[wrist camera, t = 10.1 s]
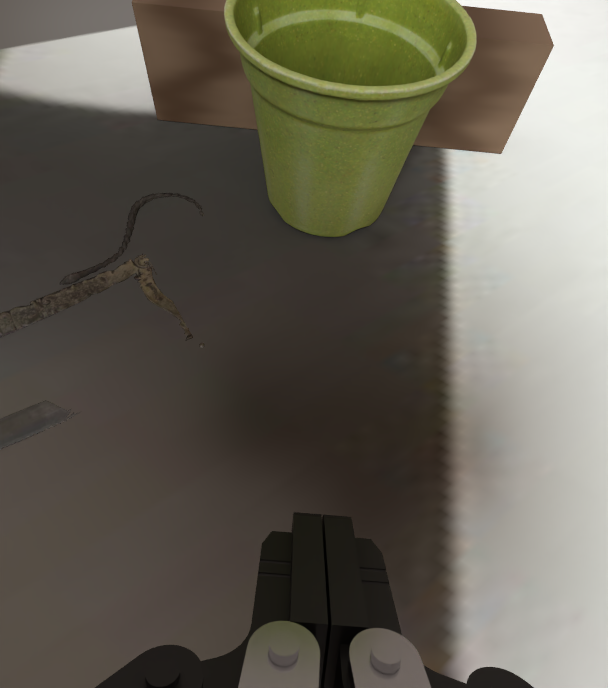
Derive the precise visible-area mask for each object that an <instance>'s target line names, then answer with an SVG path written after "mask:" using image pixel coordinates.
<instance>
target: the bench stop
mask: <svg viewBox="0 0 608 688" xmlns="http://www.w3.org/2000/svg"><path fill="white" fill-rule="evenodd" d="M225 3H226V0H133V1H132V6H133V10H134V15H135V19H136V24H137V28H138V33H139V37H140V42H141V46H142V51H143V56H144V60H145V65H146V69H147V74H148V78H149V83H150V87H151V92H152V96H153V101H154V105H155V110H156V114H157V119H158V120H165V121H175V122H185V123H196V124H206V125H216V126H226V127H236V128H246V129H256V130H258V128H257V122H256V116H255V110H254V103H253V97H252V92H251V86H250V82H249V81H248V79H247V77H246V75H245V72H244V69H243V66H242V62H241V57H240V52H239V51H238V50H237V48H236V47H235V45H234V44H233V42H232V40H231V39H230V37H229V34H228V32H227V29H226V24H225V17H224V7H225ZM462 7H463V9H464V10H465V11H466V12H467V14H468V15H469V17H471V19H472V22H473V24H474V27H475V30H476V48H475V52H474V54H473V57H472V59H471V61H470V63H469V65H468V66H467V67H466V69H465V70H464V71H463V72H462V73H461V74H460V75H459V76H458V77H457V78H456V79H455V80H453V81H452V82H450V83H449V84H448V86H447V88H446V90H445V91H444V93H443V95H442V96H441V98H440V99H439V101H438V102H437V103H436V104H435V105H434V106H433V107H432V108H431V109H430V111H429V113H428V115H427V117H426V119H425V121H424V123H423V125H422V127H421V129H420V131H419V133H418V135H417V137H416V139H415V142H414V144H413V145H418V146H428V147H438V148H449V149H459V150H469V151H479V152H489V153H499V154H501V153H502V151H503V149H504V147H505V145H506V143H507V141H508V139H509V137H510V135H511V133H512V130H513V128H514V126H515V124H516V122H517V120H518V118H519V116H520V114H521V112H522V110H523V108H524V106H525V104H526V102H527V100H528V98H529V96H530V94H531V91H532V89H533V87H534V85H535V83H536V81H537V79H538V77H539V75H540V73H541V71H542V69H543V67H544V65H545V63H546V61H547V59H548V57H549V55H550V52H551V50H552V48H553V46H554V45H553V42H552V39H551V37H550V34H549V31H548V29H547V26H546V24H545V21H544V18H543V16H542V14H535V13H525V12H516V11H506V10H497V9H487V8H477V7H468V6H462Z"/></svg>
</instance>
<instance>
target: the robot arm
mask: <svg viewBox="0 0 608 688" xmlns="http://www.w3.org/2000/svg"><path fill="white" fill-rule="evenodd" d="M95 688H533V687H532V686H531V685H530V684H528V683H527V682H526V681H524V680H523V679H522V678H520V677H519V676H517V675H515V674H513V673H511V672H509V671H507V670H504V669H501V668H495V667H484V668H480V669H477V670H475V671H474V672H472V674H471V675H470V676H469V678H468V680H467V684H465V683H463V682H460V681H457V680H455V679H452V678H449V677H446V676H444V675H441V674H439V673H436V672H434V671H432V670H431V669H429V668H427V667H426V666H424V665H423V663H422V660H421V657H420V655H419V653H418V651H417V650H416V648H415V647H414V646H413V645H412V643H411V642H410V641H408V640H407V639H406V638H405V637H403V636H402V634H401V630H400V626H399V622H398V618H397V614H396V609H395V605H394V601H393V597H392V593H391V589H390V586H389V580H388V576H387V572H386V568H385V564H384V560H383V555H382V553H381V551H380V550H379V549H378V548H377V546H376V545H375V544H374V543H373V541H372V540H371V539H363V538H355V537H354V531H353V525H352V519H351V517H344V516H332V515H323V517H321V514H308V513H296V512H294V514H293V523H292V533H289V532H277V531H272V532H271V533H270V534H269V536H268V537H267V538H266V539H265V541H264V542H263V543H262V548H261V556H260V563H259V571H258V579H257V586H256V594H255V602H254V609H253V617H252V624H251V629H250V632H249V634H248V636H247V637H246V639H245V640H244V641H243V643H242V644H241V645H240V646H238V647H237V648H236V649H235V650H233V651H231V652H230V653H228V654H226V655H223V656H220V657H217V658H213V659H208V660H204V661H200V660H199V658H198V657H197V656H196V655H195V653H193V652H192V651H191V650H189V649H187V648H185V647H182V646H178V645H163V646H158V647H155V648H152V649H150V650H147V651H145V652H144V653H142V654H141V655H139V656H138V657H136V658H135V659H134V660H132V661H131V662H129V663H128V664H127V665H125V666H124V667H123V668H121V669H120V670H118V671H117V672H116V673H114V674H113V675H112V676H110V677H109V678H108V679H106V680H105V681H103V682H102V683H101V684H99V685H98V686H97V687H95Z"/></svg>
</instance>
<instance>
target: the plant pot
mask: <svg viewBox="0 0 608 688" xmlns="http://www.w3.org/2000/svg"><path fill="white" fill-rule="evenodd" d="M224 17H225V24H226V29H227V32H228V34H229V37H230V39H231V40H232V42H233V44H234V45H235V47H236V48H237V50H238V51H239V52H240V57H241V62H242V66H243V69H244V72H245V75H246V77H247V79H248V81H249V82H250V86H251V92H252V97H253V103H254V110H255V116H256V122H257V128H258V134H259V140H260V146H261V153H262V159H263V165H264V172H265V179H266V185H267V191H268V197H269V201H270V202H271V203H272V205H273V206H274V208H275V209H276V210H277V211H278V213H279V214H280V216H281V217H282V219H283V220H284V221H285V222H286V223H288V224H289V225H291V226H292V227H294V228H296V229H298V230H300V231H303V232H306V233H309V234H313V235H318V236H325V237H338V236H344V235H347V234H349V233H351V232H353V231H355V230H357V229H360V228H363V227H366V226H370V225H371V224H372V223H373V222H375V221H376V219H377V218H378V217H379V215H380V214H381V212H382V210H383V208H384V206H385V203H386V201H387V199H388V197H389V195H390V193H391V191H392V189H393V186H394V184H395V182H396V180H397V177H398V175H399V173H400V171H401V169H402V167H403V164H404V162H405V160H406V158H407V156H408V154H409V152H410V150H411V148H412V146H413V144H414V142H415V139H416V137H417V135H418V133H419V131H420V129H421V127H422V125H423V123H424V121H425V119H426V117H427V115H428V113H429V111H430V109H431V108H432V107H433V106H434V105H435V104H436V103H437V102H438V101H439V99H440V98H441V96H442V95H443V93H444V91H445V90H446V88H447V86H448V84H449V83H450V82H452V81H453V80H455V79H456V78H457V77H458V76H459V75H460V74H461V73H462V72H463V71H464V70H465V69H466V67H467V66H468V65H469V63H470V61H471V59H472V57H473V54H474V52H475V48H476V30H475V27H474V24H473V22H472V19H471V17H469V15H468V14H467V12H466V11H465V10H464V9H463V7H462V6H461V5H460V4H459V3H458V2H457V1H456V0H226V3H225V7H224Z"/></svg>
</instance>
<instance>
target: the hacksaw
mask: <svg viewBox="0 0 608 688" xmlns="http://www.w3.org/2000/svg"><path fill="white" fill-rule="evenodd" d="M170 196H172V197H180V198H183V199H186V200H187V201H190V202H193V203H194V204H195V205H196V207H197V208H198V209H200V215H201V216H204V213H203V212H202V211H201V210H202V208H201V206H200V205H199V204H198V203H197V202H195V200H193V199H190V198H189V197H187V196H183V195H182V196H181V195H180V194H178V193H177V194H172V193H160V194H151V195H148V196H145V197H142V198H141V199H140V200H139V201H136V202H135V204H134V205H133V206H132V208H131V211H130V213H129V216H128V222H127V228H126V234H125V236H124V241H123V242H122V247H120V248H119V251H118V253H116V254H114V255H113V256H112V258H108V259H107V260H106V261H105V262H103V263H100V264H98V265H96V266H94V267H91V268H88V269H86V270H83V271H80V272H77V273H72V274H70V275H68V276H66V277H65V278H64V279H63V280H62V281H61V282H60V284H62V285H64V284H71V283H74V282H76V281H78V280H79V279H80V278H83V277H85V276H87V275H89V274H91V273H94V272H96V271H98V270H99V269H101V268H103V267H106V266H107V265H108V264H110V263H112V262H114V261H115V260H116V259H117V258H118V257H119V256H121V255H122V254H123V252H124V250H125V249H127V243H129V242H130V237H131V235H132V231H133V229H134V227H133V226H134V223H135V218H136V215H137V212H138V210H139V209H140V207H142V206H143V205H144V204H145V203H147V202H149V201H151V200H153V199H155V198H160V197H170ZM145 256H146V254H145V255H144V256H143V254H142V255H140V256H138V257H137V258H135V260H134V262H133V261H132V260H131V259H129V261H128V262H124V264H122V265H120V266H119V267H117V268H116V269H115V270H113V271H105V272H102V273H100V274H98V275H97V276H95V277H93V278H90V279H87V280H85V281H82V282H79V283H77V284H73V285H72V286H69V287H67V288H64V289H62V290H59V291H57V292H54V293H52V294H49V295H47V296H44V297H42V298H39V299H37V300H36V301H31V302H30V305H29V306H26V307H15V308H13V309H12V310H11V311H10V312H2V313H0V337H2V336H5V335H7V334H10V333H12V332H14V331H17V330H19V329H21V328H23V327H26V326H28V325H31V324H33V323H35V322H37V321H40V320H42V319H44V318H47V317H49V316H51V315H54V314H56V313H58V312H60V311H62V310H64V309H66V308H68V307H71V306H73V305H75V304H77V303H79V302H81V301H83V300H85V299H87V298H88V297H90V296H91V295H93V294H96V293H100V292H102V291H104V290H106V289H107V288H109V287H110V286H111V285H113V284H117V282H122V281H124V280H126V279H127V278H129V277H130V276H131V275H133V274H134V273H136V276H135V277H134V278H135V280H138V282H139V283H140V288H141V289H142V290H143V292H144V294H145V295H146V297H147V299H148V300H149V301H150V302H152V303H153V304H155V305H157V306H159V307H160V308H162V309H164V310H166V311H168V312H169V313H171V314H172V315H173V316H175V317H176V318H178V319H179V320H180V321H181V322H180V324H179V325H180V326H181V327H182V328H183V329H184V331H185V333H184V334H185V335H187V338H186V340H189V339H191V338H193V336H192V334H191V333H190V331H189V330H188V329H189V328H187V327H186V325H185V323H184V321H183V319H182V317H181V315H180V314H179V312H178V310H177V308H176V307H175V305H174V303H173V301H172V300H170V299H169V298H167V297H166V296H164V295H163V294H162V292H161V291H160V290H159V289H158V288H157V286H156V284H155V281H154V279H153V277H152V268H153V266H152V265H151V267H148V265H149V264H150V263H149V262H145V261H149V258H145ZM139 258H140V260H139ZM145 264H148V265H145ZM149 266H150V265H149ZM143 267H147V268H143ZM139 269H140V272H139ZM153 270H154V268H153ZM154 271H155V270H154ZM140 273H142V274H140ZM155 274H156V275H157V273H156V272H155ZM186 340H185V341H186ZM200 347H201V348H202V347H204V343H201V344H200ZM70 411H71V409H70V410H68V411H67V410H65V409H63V408H61V407H59V406H57V405H55V404H53V403H51V402H48V401H46V400H45V401H43V402H41V403H38V404H36V405H33V406H31V407H28V408H26V409H23V410H21V411H19V412H16V413H14V414H11V415H9V416H6V417H4V418H2V419H0V450H1V449H2V448H3V447H7V446H9V445H10V444H14V443H15V442H19V441H21V440H22V439H26V438H27V437H28V436H32V435H34V434H38V433H39V432H40V431H44V430H45V429H49V428H51V427H52V426H54V427H55V426H56V425H57V424H61V423H62V422H63V421H67V419H68V418H69V419H70V418H72V417H73V416H75V415H77V414H78V413H77V414H74V413H73V414H71V415H70V416H69V417H68V418H66V417H67V416H68V414H69V413H70ZM79 413H80V412H79Z"/></svg>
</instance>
